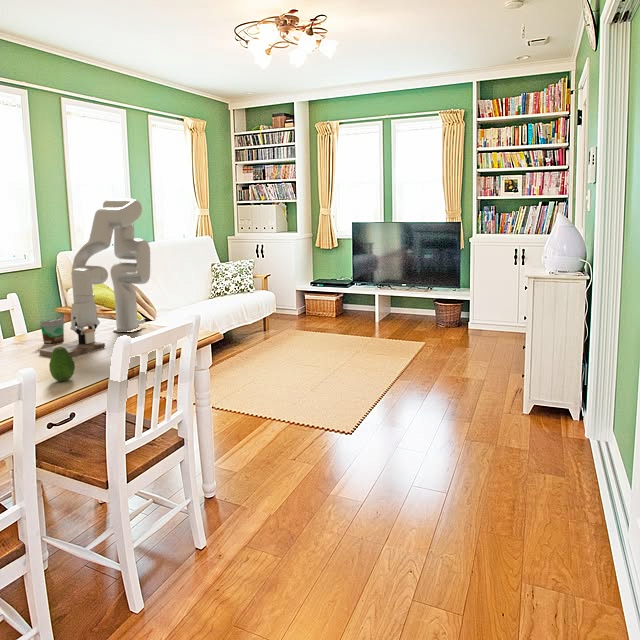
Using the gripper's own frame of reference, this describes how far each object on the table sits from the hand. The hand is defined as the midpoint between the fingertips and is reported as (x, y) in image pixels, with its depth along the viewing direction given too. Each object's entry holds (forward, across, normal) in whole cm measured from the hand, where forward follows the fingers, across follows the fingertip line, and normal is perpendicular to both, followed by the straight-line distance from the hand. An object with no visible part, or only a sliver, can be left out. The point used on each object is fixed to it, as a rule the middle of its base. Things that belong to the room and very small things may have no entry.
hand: (86, 342), depth 240 cm
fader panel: (+2, +7, 0) cm, 7 cm away
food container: (+3, 0, -18) cm, 18 cm away
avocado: (+3, +35, +29) cm, 46 cm away
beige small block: (0, 0, 0) cm, 0 cm away
